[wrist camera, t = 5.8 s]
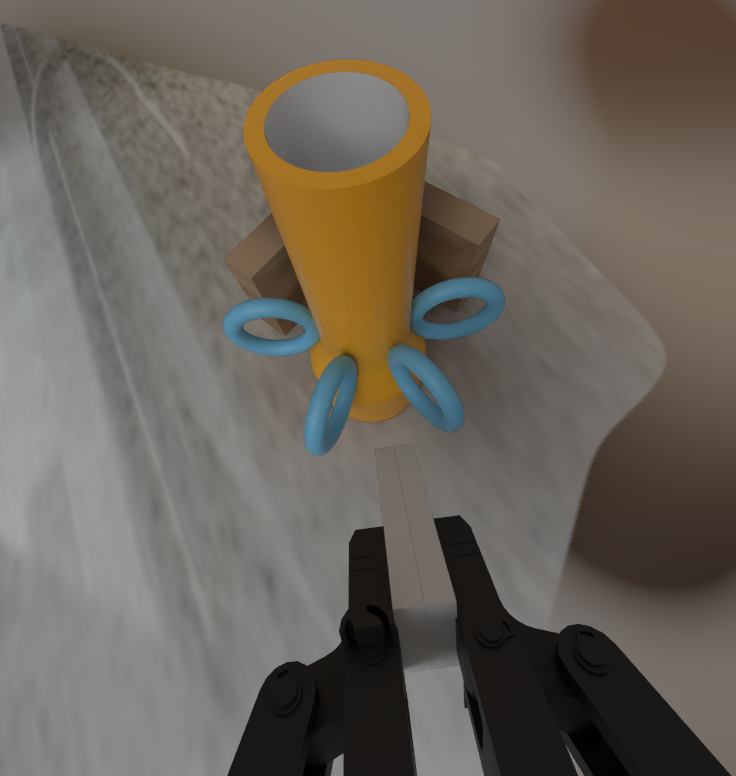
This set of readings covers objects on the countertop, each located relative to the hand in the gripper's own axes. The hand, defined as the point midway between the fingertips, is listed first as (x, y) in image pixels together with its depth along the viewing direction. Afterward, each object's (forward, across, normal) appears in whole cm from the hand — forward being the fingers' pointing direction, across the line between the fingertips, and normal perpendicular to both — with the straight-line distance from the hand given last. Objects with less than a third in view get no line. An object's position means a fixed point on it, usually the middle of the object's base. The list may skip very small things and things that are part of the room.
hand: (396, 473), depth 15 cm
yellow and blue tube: (+8, 0, +1) cm, 8 cm away
